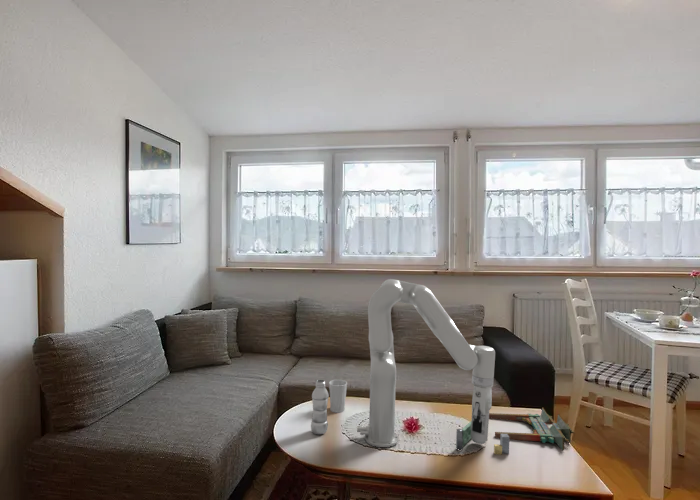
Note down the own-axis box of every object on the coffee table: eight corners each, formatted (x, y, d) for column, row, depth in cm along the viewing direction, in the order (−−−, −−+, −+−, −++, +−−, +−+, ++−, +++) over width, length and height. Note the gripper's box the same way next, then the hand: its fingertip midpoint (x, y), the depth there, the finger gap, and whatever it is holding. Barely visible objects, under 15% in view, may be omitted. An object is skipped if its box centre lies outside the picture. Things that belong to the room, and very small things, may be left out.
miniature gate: (486, 405, 176) (560, 407, 170) (487, 418, 176) (561, 420, 170) (496, 433, 150) (584, 437, 144) (497, 448, 150) (584, 453, 144)
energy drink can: (490, 441, 147) (492, 401, 147) (482, 446, 143) (484, 405, 143) (475, 434, 152) (477, 395, 151) (467, 439, 147) (469, 399, 147)
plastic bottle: (307, 432, 154) (308, 380, 154) (321, 427, 159) (322, 377, 158) (317, 438, 149) (318, 385, 149) (331, 433, 154) (332, 381, 154)
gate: (462, 446, 145) (463, 431, 145) (459, 445, 146) (460, 430, 146) (475, 434, 154) (475, 420, 154) (472, 433, 155) (472, 419, 155)
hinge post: (456, 450, 143) (457, 431, 143) (455, 447, 145) (456, 428, 145) (462, 451, 143) (463, 431, 143) (461, 448, 145) (462, 428, 145)
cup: (338, 404, 181) (339, 378, 181) (350, 410, 175) (350, 383, 175) (324, 408, 176) (325, 381, 176) (335, 415, 170) (336, 387, 170)
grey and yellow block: (494, 454, 141) (495, 437, 141) (492, 449, 144) (492, 433, 144) (509, 455, 141) (510, 438, 141) (506, 450, 144) (507, 433, 144)
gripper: (486, 389, 138) (483, 440, 138) (498, 376, 152) (495, 423, 152) (465, 383, 142) (462, 433, 142) (478, 372, 156) (476, 417, 156)
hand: (479, 428), depth 147 cm, fingers closed on energy drink can, 6 cm apart
